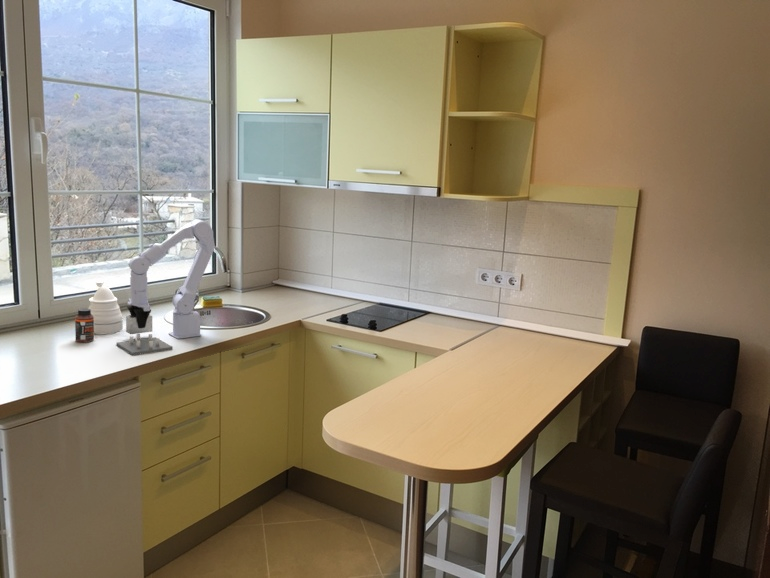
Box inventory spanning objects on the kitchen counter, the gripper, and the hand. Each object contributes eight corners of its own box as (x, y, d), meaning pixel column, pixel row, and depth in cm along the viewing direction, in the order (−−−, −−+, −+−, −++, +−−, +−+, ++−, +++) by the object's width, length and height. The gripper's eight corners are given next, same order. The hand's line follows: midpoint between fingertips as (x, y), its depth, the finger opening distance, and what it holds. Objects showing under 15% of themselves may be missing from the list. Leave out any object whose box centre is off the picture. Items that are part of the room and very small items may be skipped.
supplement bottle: (86, 343, 225) (86, 312, 222) (71, 341, 226) (70, 310, 224) (97, 339, 230) (97, 308, 228) (82, 337, 231) (82, 306, 229)
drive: (147, 329, 239) (147, 312, 238) (152, 331, 236) (152, 315, 235) (126, 331, 233) (126, 315, 232) (130, 334, 231) (130, 317, 229)
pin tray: (155, 340, 234) (155, 330, 234) (172, 349, 224) (172, 339, 224) (116, 345, 225) (116, 335, 224) (132, 355, 215) (132, 345, 214)
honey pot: (77, 330, 240) (76, 282, 237) (104, 323, 252) (103, 278, 249) (104, 335, 236) (103, 287, 232) (130, 328, 248) (129, 282, 244)
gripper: (120, 287, 234) (120, 323, 237) (135, 294, 224) (136, 332, 226) (139, 285, 239) (139, 321, 242) (155, 292, 229) (155, 329, 231)
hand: (139, 326), depth 234 cm, fingers closed on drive, 4 cm apart
